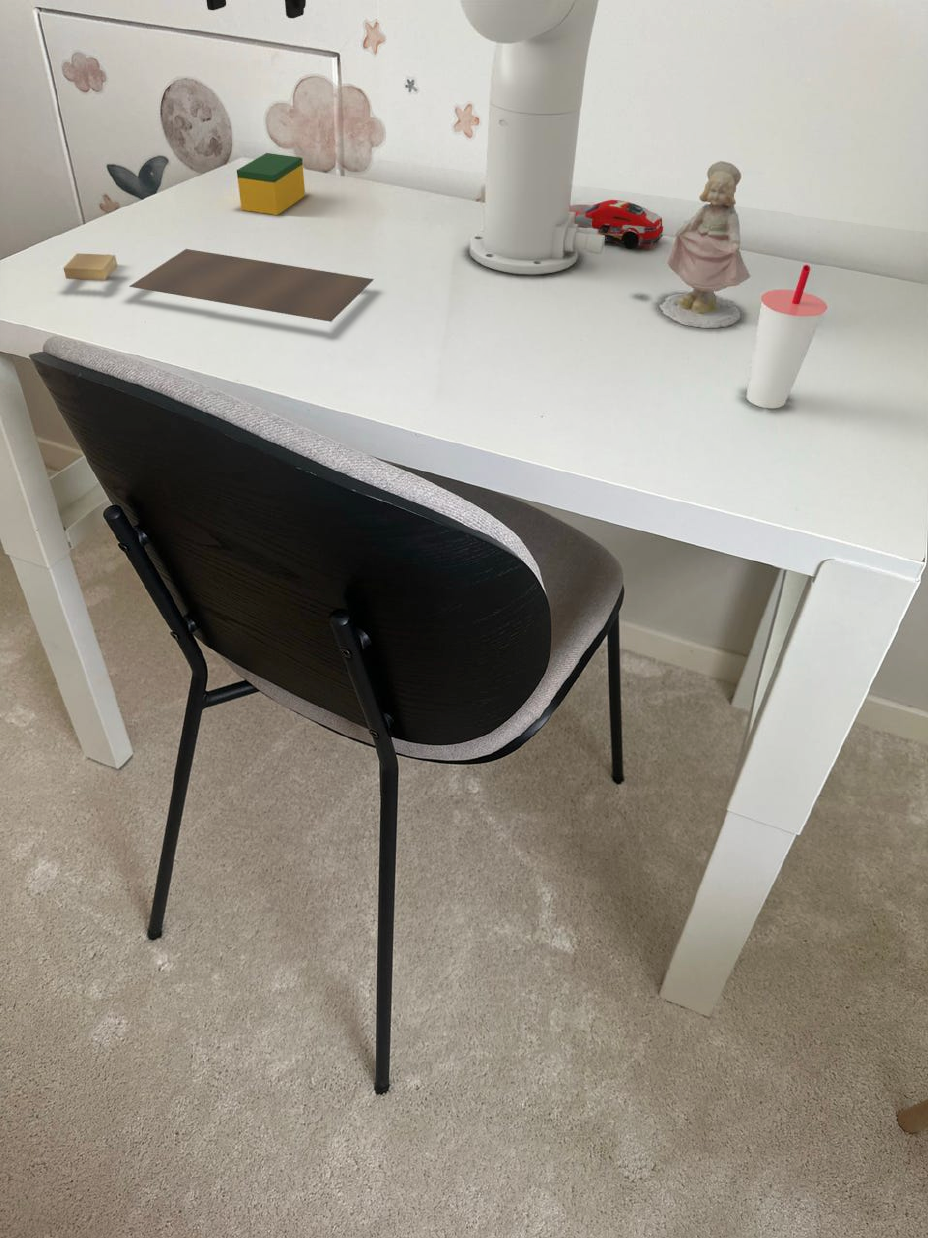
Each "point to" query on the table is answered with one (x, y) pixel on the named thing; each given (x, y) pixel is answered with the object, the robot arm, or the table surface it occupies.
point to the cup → (782, 342)
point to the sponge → (271, 183)
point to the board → (255, 284)
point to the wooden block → (90, 266)
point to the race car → (620, 222)
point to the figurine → (709, 255)
